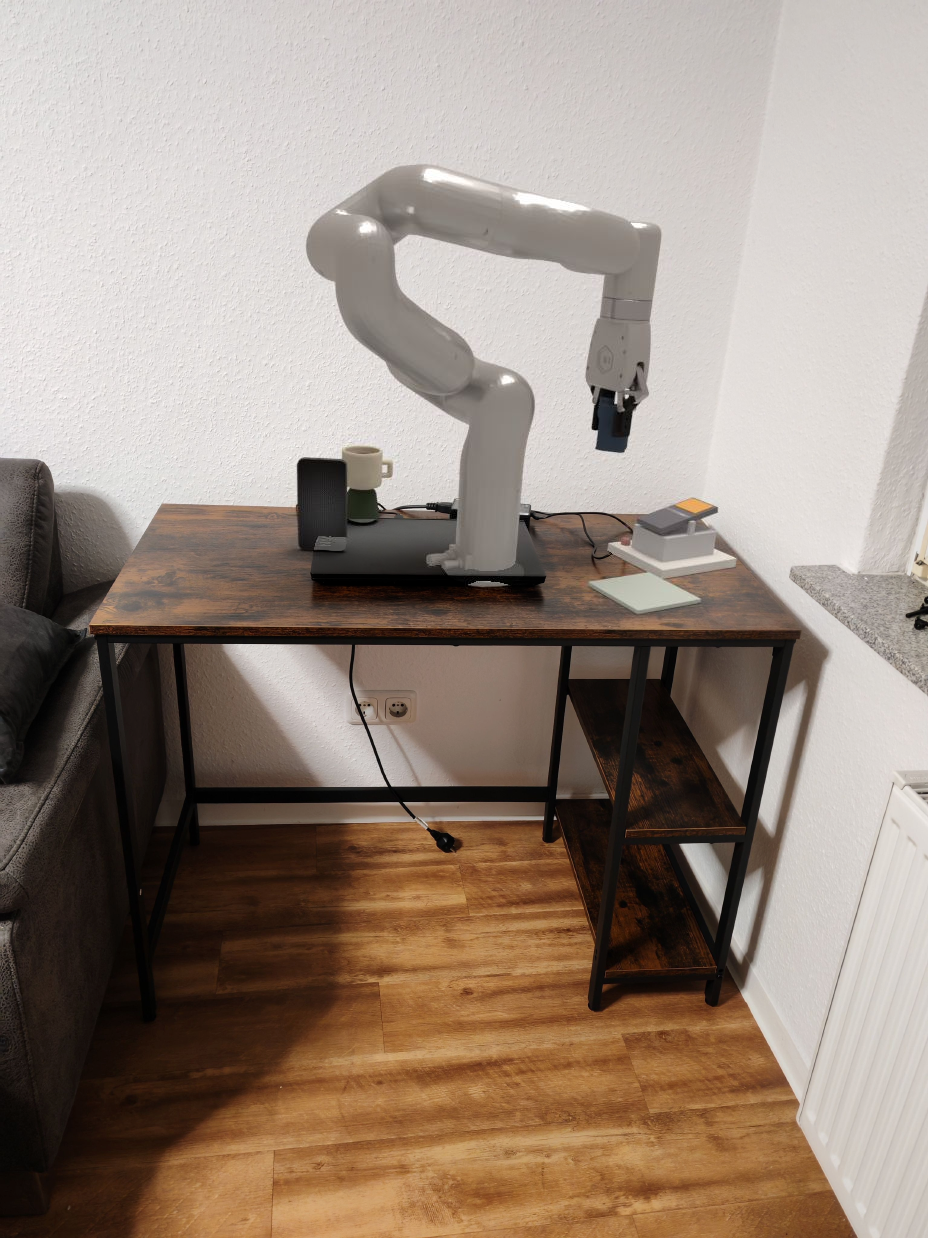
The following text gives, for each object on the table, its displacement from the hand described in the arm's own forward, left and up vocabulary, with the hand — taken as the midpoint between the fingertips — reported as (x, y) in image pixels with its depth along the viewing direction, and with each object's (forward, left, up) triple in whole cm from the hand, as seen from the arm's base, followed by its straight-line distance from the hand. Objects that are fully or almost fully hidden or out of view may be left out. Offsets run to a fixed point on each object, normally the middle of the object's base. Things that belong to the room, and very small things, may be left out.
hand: (610, 432), depth 142 cm
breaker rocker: (+12, -5, -13) cm, 19 cm away
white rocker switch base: (+12, -5, -21) cm, 25 cm away
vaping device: (0, 0, -3) cm, 3 cm away
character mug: (-29, +31, -21) cm, 47 cm away
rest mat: (-3, -16, -21) cm, 27 cm away
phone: (-41, +19, -21) cm, 50 cm away
